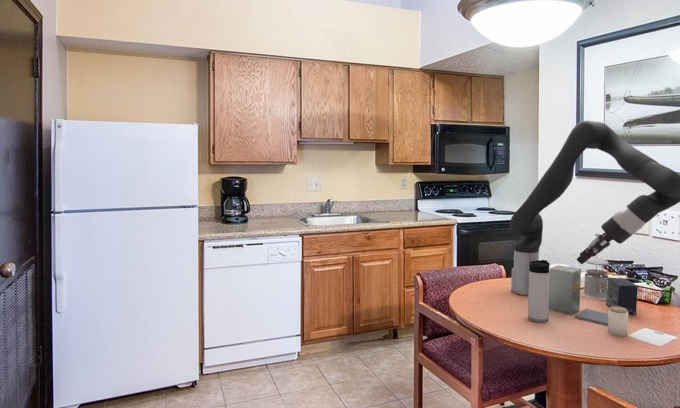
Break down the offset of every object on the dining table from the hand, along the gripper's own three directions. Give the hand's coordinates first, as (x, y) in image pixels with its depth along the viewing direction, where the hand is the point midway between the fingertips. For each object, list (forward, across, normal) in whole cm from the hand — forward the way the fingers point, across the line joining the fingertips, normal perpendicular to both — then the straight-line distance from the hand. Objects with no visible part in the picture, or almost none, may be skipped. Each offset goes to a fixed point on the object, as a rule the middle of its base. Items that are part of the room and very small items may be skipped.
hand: (580, 259), depth 142 cm
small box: (+8, -25, +23) cm, 35 cm away
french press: (+14, -40, +17) cm, 45 cm away
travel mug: (+24, 0, +6) cm, 25 cm away
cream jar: (+9, 0, +23) cm, 25 cm away
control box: (+20, -15, +11) cm, 27 cm away
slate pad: (+13, -11, +18) cm, 25 cm away
